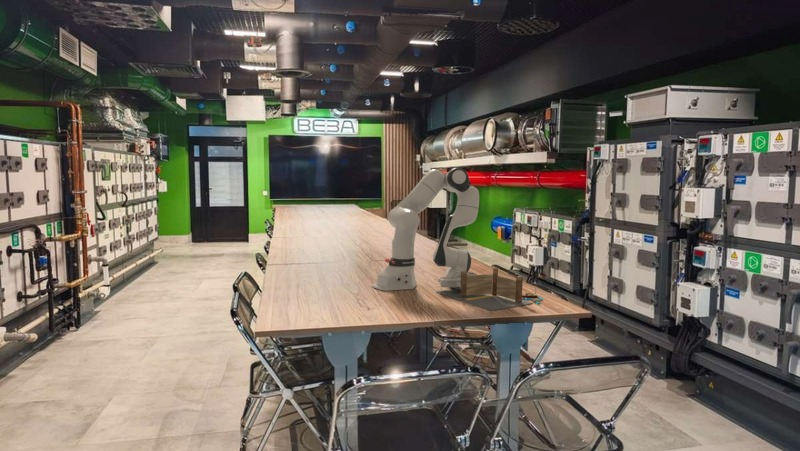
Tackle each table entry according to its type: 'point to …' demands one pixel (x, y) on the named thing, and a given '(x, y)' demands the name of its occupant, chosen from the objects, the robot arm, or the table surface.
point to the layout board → (484, 300)
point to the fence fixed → (507, 286)
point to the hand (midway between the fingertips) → (464, 285)
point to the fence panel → (475, 284)
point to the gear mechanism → (532, 297)
